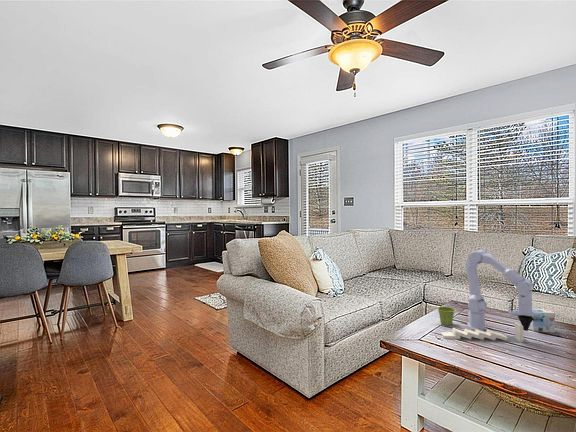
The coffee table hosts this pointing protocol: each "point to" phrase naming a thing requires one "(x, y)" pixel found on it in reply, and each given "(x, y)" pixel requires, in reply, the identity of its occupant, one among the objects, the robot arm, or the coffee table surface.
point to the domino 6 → (519, 332)
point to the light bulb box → (543, 321)
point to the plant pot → (446, 315)
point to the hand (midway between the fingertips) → (525, 330)
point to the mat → (510, 339)
